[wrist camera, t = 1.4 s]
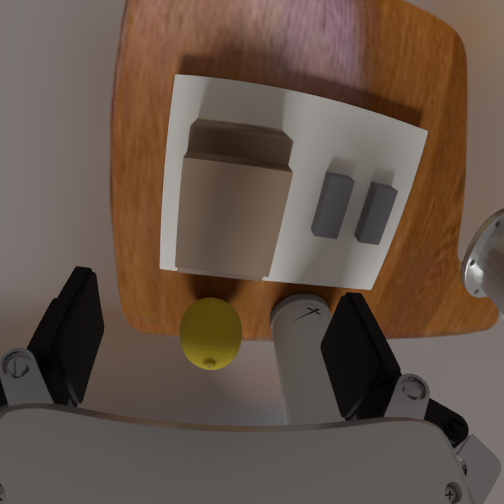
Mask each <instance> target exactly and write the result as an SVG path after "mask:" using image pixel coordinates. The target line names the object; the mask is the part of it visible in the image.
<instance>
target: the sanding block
mask: <svg viewBox="0 0 504 504" xmlns="http://www.w3.org/2000/svg"><path fill="white" fill-rule="evenodd" d="M292 146H293V140H292V139H291V138H290V137H289V136H288V135H287V134H286V133H285V132H284V131H283V130H282V129H276V128H270V127H265V126H258V125H252V124H246V123H239V122H232V121H224V120H216V119H208V118H199V117H198V118H197V119H196V120H195V121H194V122H193V123H192V125H191V126H190V131H189V139H188V147H187V152H186V154H185V155H184V157H183V165H182V175H181V185H180V197H179V209H178V222H177V237H176V255H175V267H177V272H181V273H189V274H198V275H207V276H216V277H226V278H235V279H245V280H254V281H262V279H263V277H269V274H270V269H271V265H272V261H273V257H274V253H275V249H276V245H277V241H278V236H279V232H280V228H281V224H282V220H283V215H284V211H285V207H286V202H287V198H288V194H289V190H290V185H291V181H292V176H293V172H292V170H291V168H290V167H289V165H288V164H289V160H290V155H291V151H292Z"/></svg>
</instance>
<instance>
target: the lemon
mask: <svg viewBox="0 0 504 504" xmlns="http://www.w3.org/2000/svg"><path fill="white" fill-rule="evenodd" d="M241 338H242V327H241V322H240V318H239V316H238V314H237V312H236V311H235V309H234V308H233V307H232V306H231V305H230V304H229V303H227V302H225V301H224V300H222V299H218V298H212V297H210V298H203V299H200V300H198V301H196V302H194V303H193V304H192V305H191V306H190V307H189V308H188V309H187V310H186V312H185V314H184V316H183V318H182V321H181V326H180V341H181V345H182V349H183V351H184V353H185V355H186V357H187V358H188V359H189V360H190V361H191V362H192V363H193V364H194V365H196V366H198V367H200V368H203V369H209V370H213V369H219V368H222V367H224V366H226V365H228V364H229V363H230V362H231V361H232V360H233V359H234V358H235V356H236V355H237V353H238V351H239V348H240V345H241Z"/></svg>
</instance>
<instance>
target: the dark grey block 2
mask: <svg viewBox="0 0 504 504" xmlns="http://www.w3.org/2000/svg"><path fill="white" fill-rule="evenodd" d="M397 193H398V191H397V190H396V189H394V188H393V187H392V186H389V185H385V184H381V183H377V182H372V181H371V184H370V188H369V191H368V194H367V197H366V201H365V204H364V207H363V210H362V213H361V216H360V219H359V222H358V225H357V228H356V231H355V234H354V236H355V238H356V239H357V241H358V242H360V243H367V244H373V245H379V243H380V241H381V238H382V235H383V233H384V230H385V227H386V225H387V222H388V219H389V216H390V213H391V211H392V208H393V205H394V202H395V199H396V196H397Z"/></svg>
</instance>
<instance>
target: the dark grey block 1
mask: <svg viewBox="0 0 504 504" xmlns="http://www.w3.org/2000/svg"><path fill="white" fill-rule="evenodd" d="M354 183H355V181H354V180H353V179H352V178H351V177H350V176H346V175H341V174H336V173H332V172H327V171H326V174H325V178H324V182H323V186H322V189H321V193H320V197H319V201H318V204H317V208H316V212H315V215H314V219H313V222H312V226H311V231H312V233H313V235H314V236H317V237H325V238H332V239H337V238H338V235H339V232H340V229H341V226H342V223H343V219H344V216H345V213H346V210H347V206H348V203H349V200H350V197H351V193H352V190H353V187H354Z"/></svg>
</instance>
